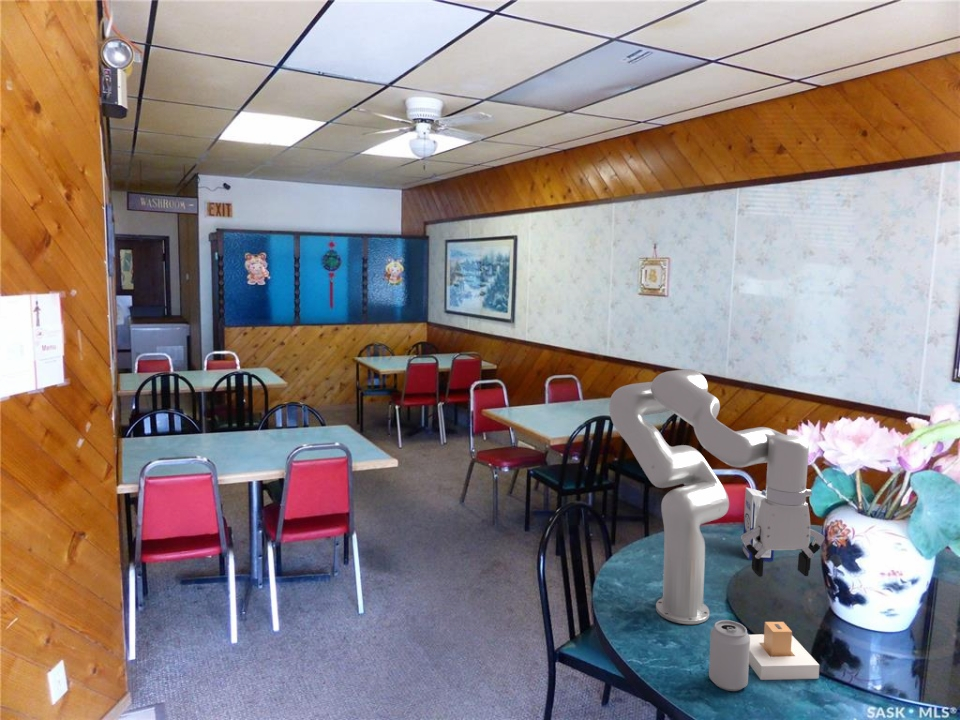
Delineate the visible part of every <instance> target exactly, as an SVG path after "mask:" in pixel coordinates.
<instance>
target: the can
mask: <svg viewBox="0 0 960 720" xmlns="http://www.w3.org/2000/svg"><path fill="white" fill-rule="evenodd" d="M749 635H750V634H749V633H748V630H747V628H746V626H744V625H743V624H742V623H740V622H737V621H735V620H734V621H733V620H729V619H721V620H718V621H716V622H715V623H714V625H713V627H712V628H711V629H710V637H709V638H710V639H709V642H710V643H709V664H708V666H709V667H708V676H709V679H710V680H711V681H712V682H713V684H715V686H717V687H719V688H720V689H722V690H725V691H730V692H738V691H741V690H742V689H743V688H746V687H747V686H748V683H749V668H750V667H749V666H750V664H749V650H750V636H749Z"/></svg>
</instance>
